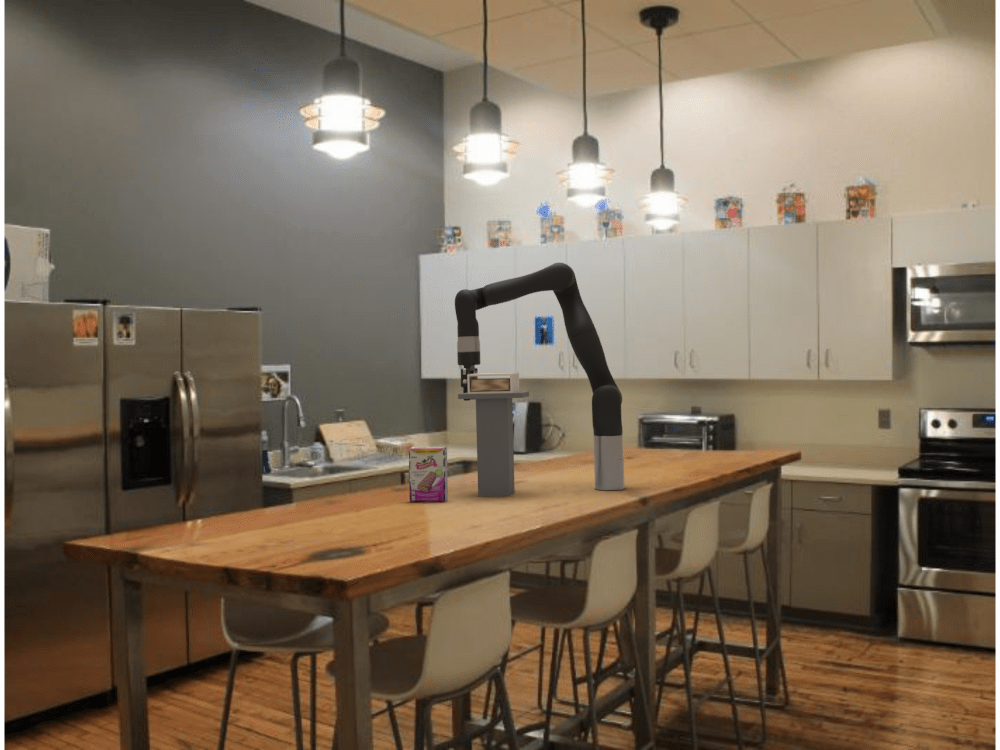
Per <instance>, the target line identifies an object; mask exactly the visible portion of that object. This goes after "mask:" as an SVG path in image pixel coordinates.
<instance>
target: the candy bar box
mask: <svg viewBox="0 0 1000 750" xmlns="http://www.w3.org/2000/svg"><path fill="white" fill-rule="evenodd" d="M408 466H409V467H408V471H409V473H408V477H409V480H408V481H409V502H410V503H445V502H447V501H448V499H449V490H448V489H449V488H448V486H449V485H448V483H449V479H448V447H447V446H412V447H409V448H408Z"/></svg>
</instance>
